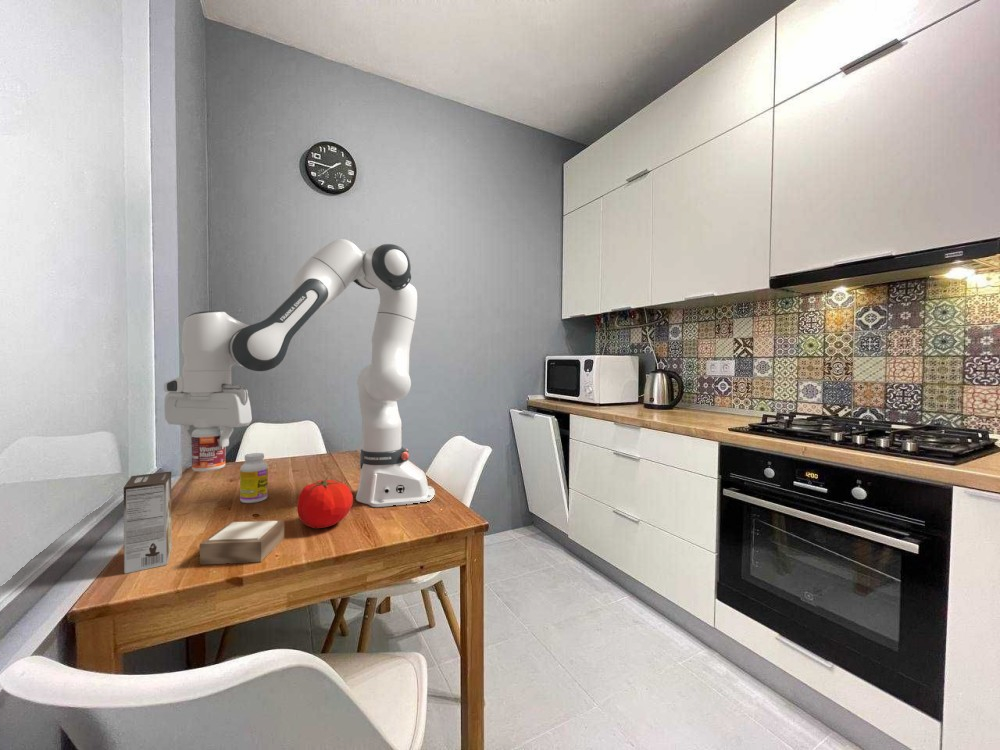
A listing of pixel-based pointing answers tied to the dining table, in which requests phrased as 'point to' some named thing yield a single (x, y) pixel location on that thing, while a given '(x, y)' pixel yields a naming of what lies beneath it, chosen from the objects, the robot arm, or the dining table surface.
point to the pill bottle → (206, 447)
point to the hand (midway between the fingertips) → (209, 445)
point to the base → (242, 542)
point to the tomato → (324, 503)
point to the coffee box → (147, 521)
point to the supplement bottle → (253, 479)
